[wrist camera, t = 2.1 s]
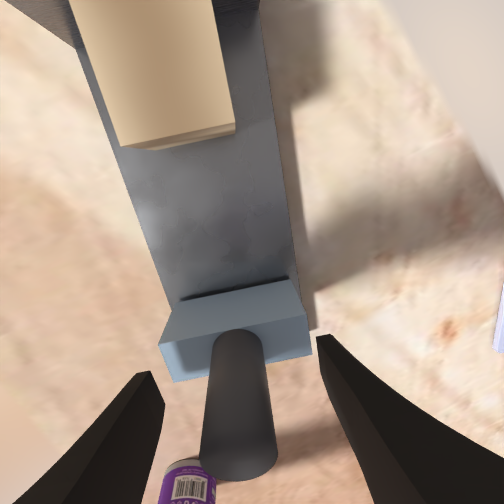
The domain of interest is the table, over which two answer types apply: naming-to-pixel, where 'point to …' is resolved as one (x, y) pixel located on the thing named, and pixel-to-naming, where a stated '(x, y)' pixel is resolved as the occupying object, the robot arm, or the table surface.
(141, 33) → the block
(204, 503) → the container
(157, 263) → the base
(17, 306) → the table surface
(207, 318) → the sliding jaw
